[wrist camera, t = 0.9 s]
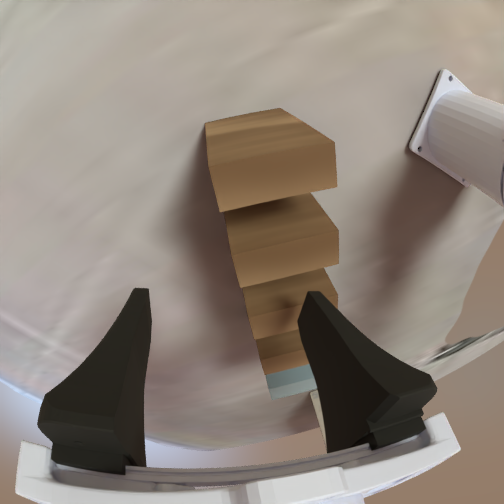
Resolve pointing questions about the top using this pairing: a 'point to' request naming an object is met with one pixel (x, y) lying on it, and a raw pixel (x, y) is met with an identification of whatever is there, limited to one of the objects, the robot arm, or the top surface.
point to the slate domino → (291, 382)
